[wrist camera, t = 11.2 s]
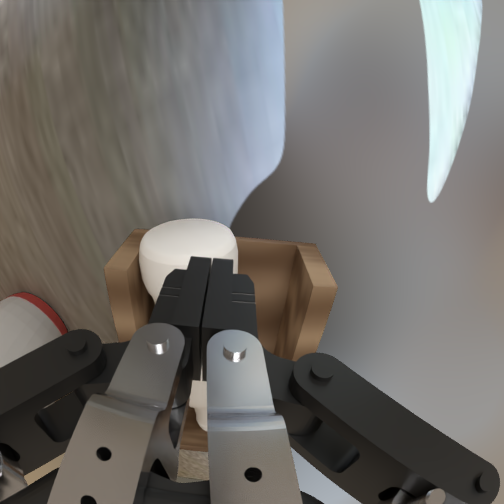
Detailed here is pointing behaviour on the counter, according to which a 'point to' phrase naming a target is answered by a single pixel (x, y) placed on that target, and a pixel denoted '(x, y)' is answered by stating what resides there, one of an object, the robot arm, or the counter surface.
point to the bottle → (177, 257)
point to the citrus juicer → (26, 326)
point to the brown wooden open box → (266, 299)
